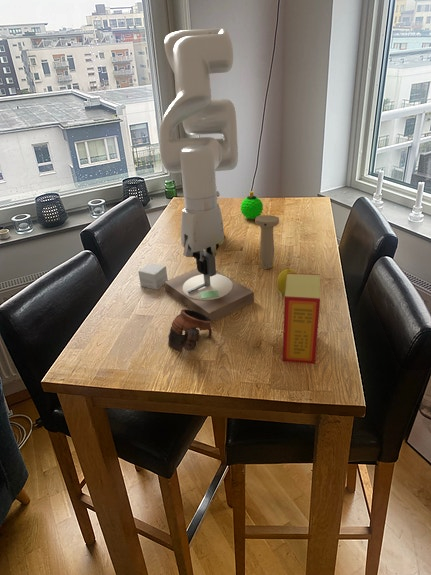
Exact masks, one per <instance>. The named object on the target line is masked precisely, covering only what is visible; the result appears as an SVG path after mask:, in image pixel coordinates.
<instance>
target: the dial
mask: <svg viewBox="0 0 431 575" xmlns="http://www.w3.org/2000/svg"><path fill="white" fill-rule="evenodd" d="M226 276H227V275H226ZM226 276H223V275H219V274H216V275H214V276H212V277H211V276H210V283H211V285H210V286H208V287H207V286H204V287H202V288H200V289H198V290H195V291H193V292H191V293H188V290H190V289H193V288H195V287H197V286H200V285H202V284H204V274H201V275H197V276H194V277H192V278H190V279H188V280H187V281H186V282H185V283H184V285H183V292H184V294H185V295H187V296H188V297H190V298H193V299H197V300H213V299H218V298H221V297H223V296H225V295H227V294H228V293H229V292H230V291H231V290H232V288H233V283H232V281H231V280H230V279H229V278H230V277H229V278H227V277H228V276H227V277H226Z"/></svg>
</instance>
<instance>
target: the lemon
mask: <svg viewBox="0 0 431 575" xmlns="http://www.w3.org/2000/svg"><path fill="white" fill-rule="evenodd" d="M287 273H297V272H296V271H295V270H293V269H291V268H287V269H283V270H282V271H280V272H279V275H277V276H278V277H277V279H276V286H277V290H278V291H279V293H280V294H282V296H285V289H286V280H287Z"/></svg>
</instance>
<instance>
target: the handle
mask: <svg viewBox="0 0 431 575" xmlns="http://www.w3.org/2000/svg"><path fill="white" fill-rule="evenodd" d="M254 220H255V222H254V223H255V224H256V225H257V226H259V227H260V244H259V257H260V262H261V263H260V267H261V268H262V269H264V270H271V269H273V266H274V259H275V241H274V227H277V225H279V223H280V217H279V216H275V215H270V214H269V215H268V214H264V215H260V216H257V217H256V218H255V219H254Z"/></svg>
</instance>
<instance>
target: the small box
mask: <svg viewBox="0 0 431 575" xmlns="http://www.w3.org/2000/svg"><path fill="white" fill-rule="evenodd" d="M137 273H138V276H139V277H138V278H139V282H140V287H144V288H147V289H152V290H156V291H157V290H159V289H160V288H161V287H162V286H164V285H165V283H164V282H165V281H168V280H169V279H168V272H167V266H166V265H162V264H157V263H152V262H149V263H148V264H146V265H145V266H144V267H142V268H140V269H139V270H138V271H137Z"/></svg>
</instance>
